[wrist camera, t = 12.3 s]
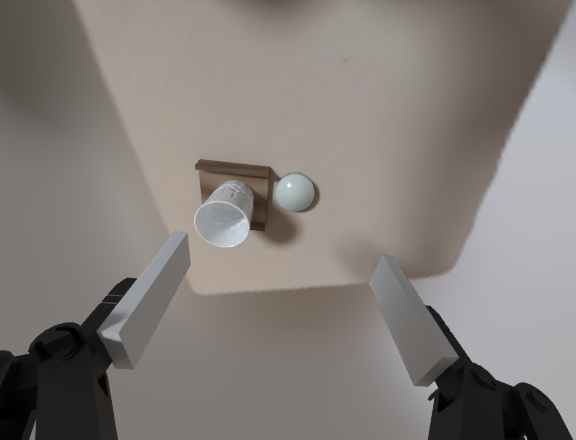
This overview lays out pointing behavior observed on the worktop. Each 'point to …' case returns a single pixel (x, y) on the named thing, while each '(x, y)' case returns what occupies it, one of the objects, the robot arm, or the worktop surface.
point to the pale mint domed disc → (295, 192)
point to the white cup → (226, 215)
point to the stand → (249, 174)
